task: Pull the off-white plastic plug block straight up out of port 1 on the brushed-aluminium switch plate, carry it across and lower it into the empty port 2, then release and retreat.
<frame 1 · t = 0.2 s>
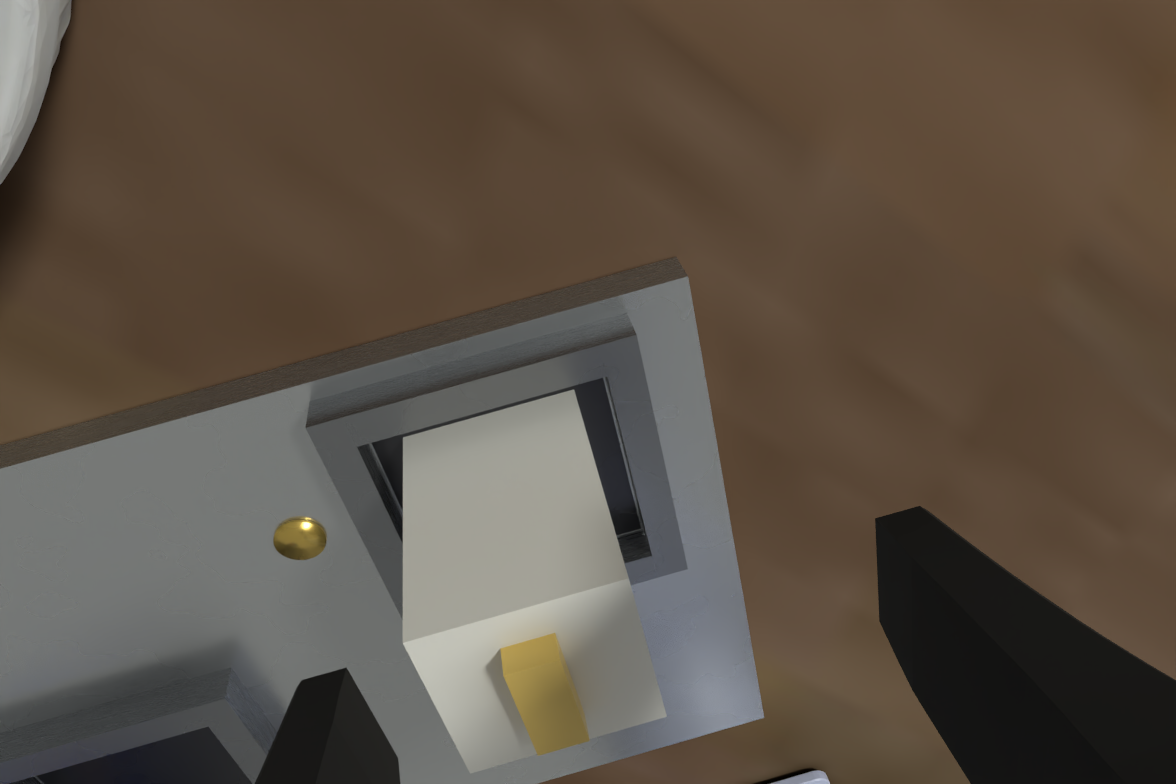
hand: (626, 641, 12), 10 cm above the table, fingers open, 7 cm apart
switch plate: (333, 625, 24), on the table
plug: (511, 479, 21), point 1 cm above the table, touching switch plate
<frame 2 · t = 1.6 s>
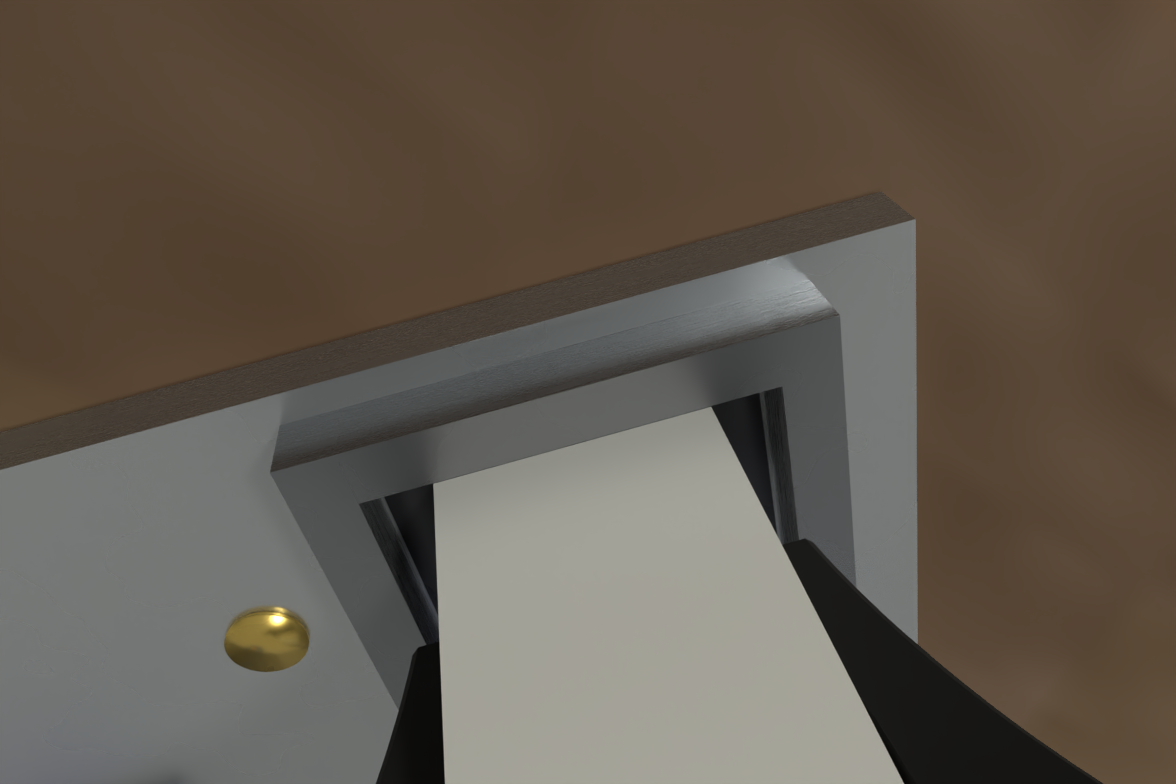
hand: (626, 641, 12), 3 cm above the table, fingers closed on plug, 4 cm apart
switch plate: (321, 750, 17), on the table
plug: (601, 546, 14), point 1 cm above the table, touching gripper, switch plate
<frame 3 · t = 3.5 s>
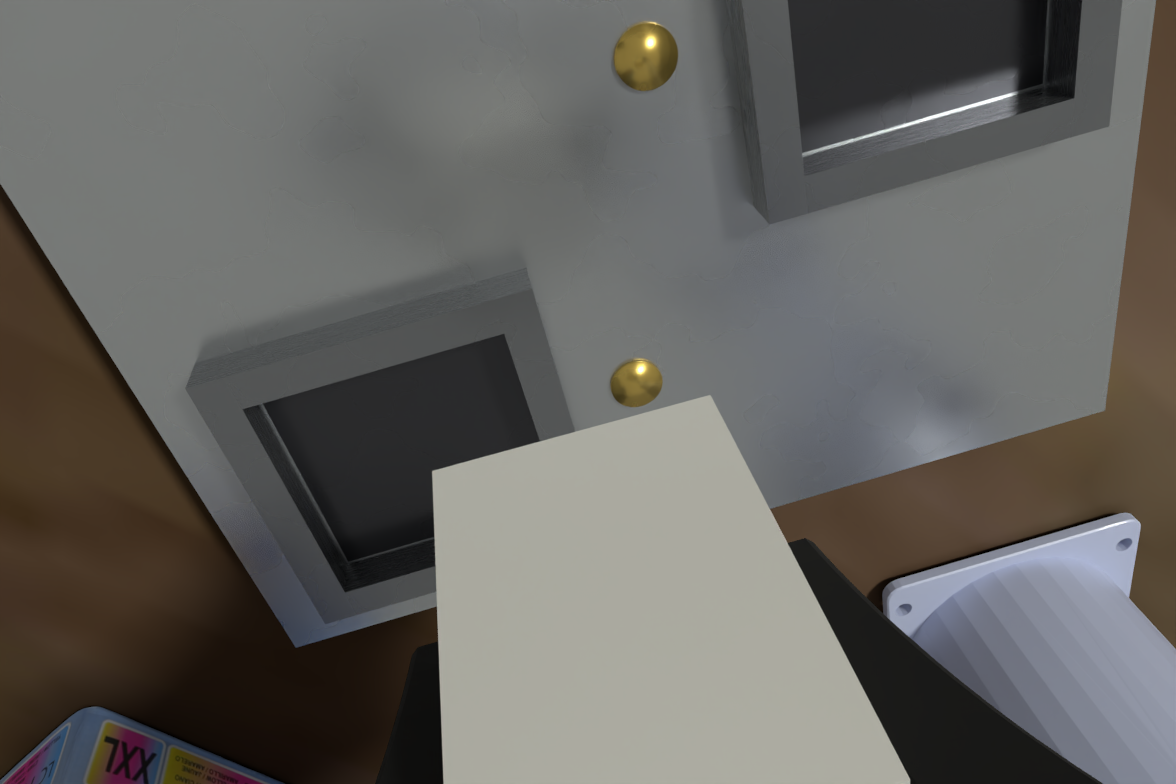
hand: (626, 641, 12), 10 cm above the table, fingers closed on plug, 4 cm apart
switch plate: (634, 239, 20), on the table
plug: (600, 535, 14), point 8 cm above the table, touching gripper
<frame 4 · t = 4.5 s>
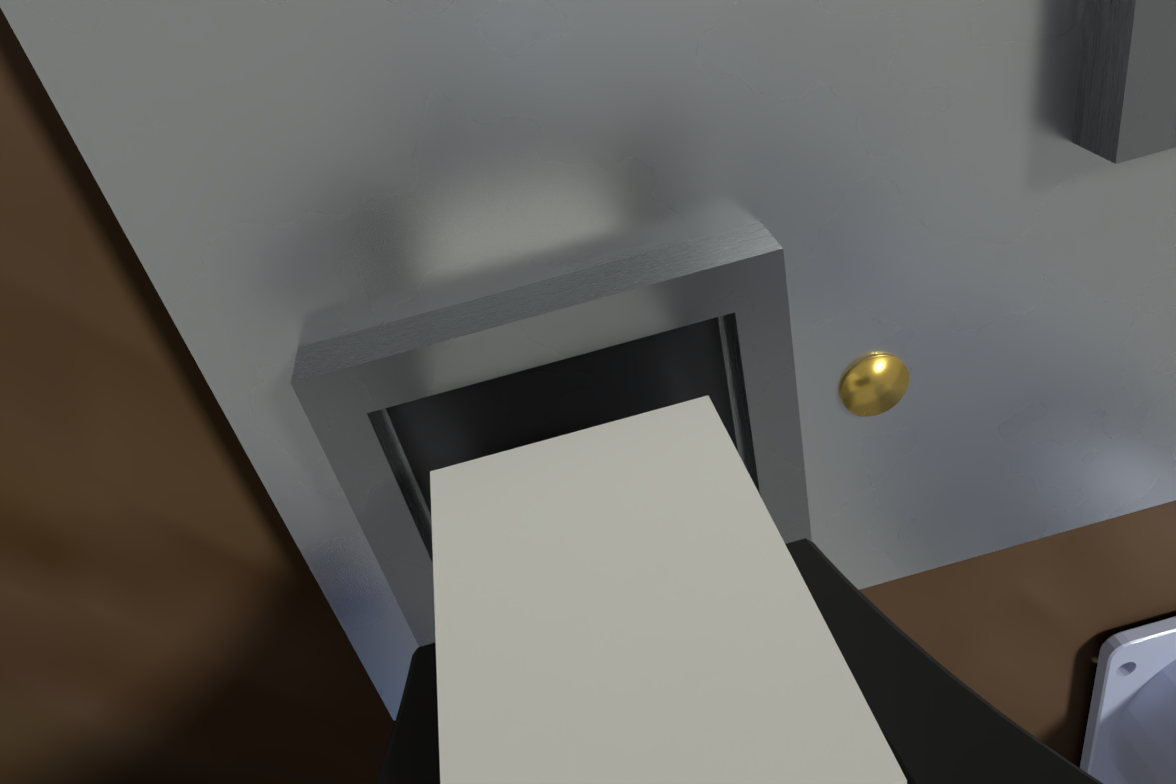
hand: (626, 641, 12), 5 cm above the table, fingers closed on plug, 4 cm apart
switch plate: (888, 189, 15), on the table
plug: (598, 536, 14), point 3 cm above the table, touching gripper
when the fingers open (3 cm above the table, at t = 5.2 s): plug stays where it is, resting on switch plate.
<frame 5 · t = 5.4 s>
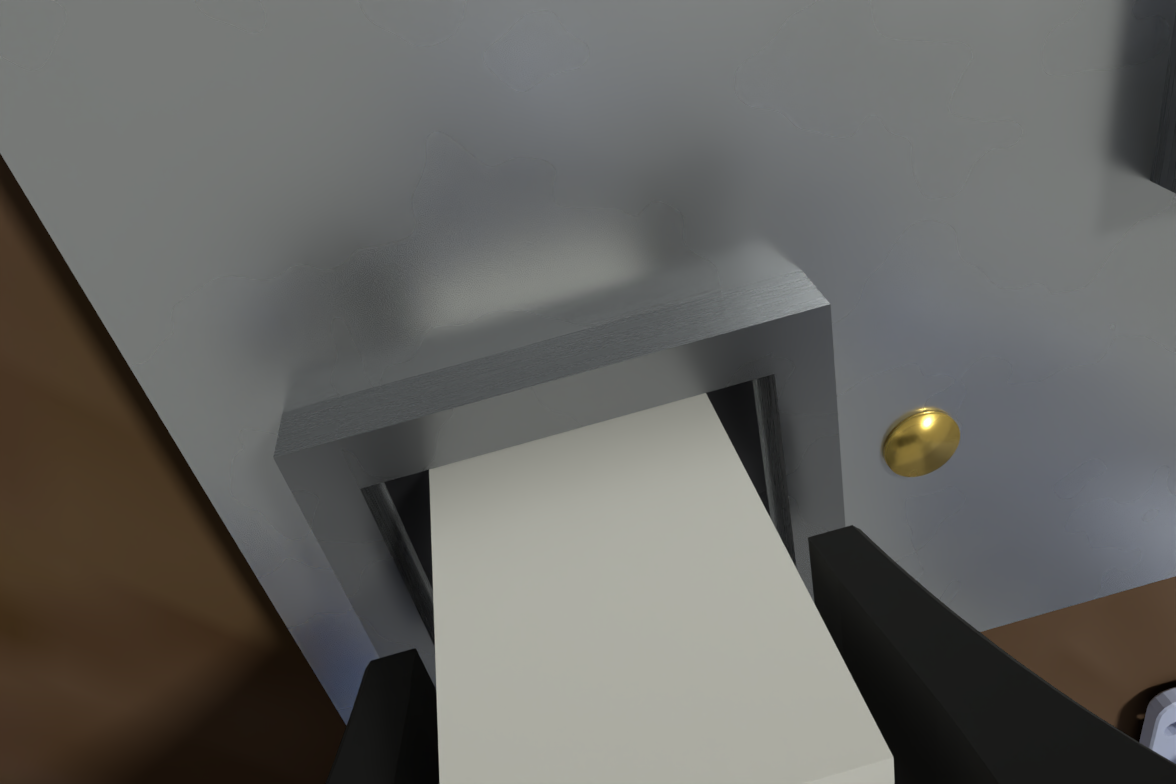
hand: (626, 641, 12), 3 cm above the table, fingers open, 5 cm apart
switch plate: (939, 230, 13), on the table
plug: (595, 526, 14), point 1 cm above the table, touching switch plate
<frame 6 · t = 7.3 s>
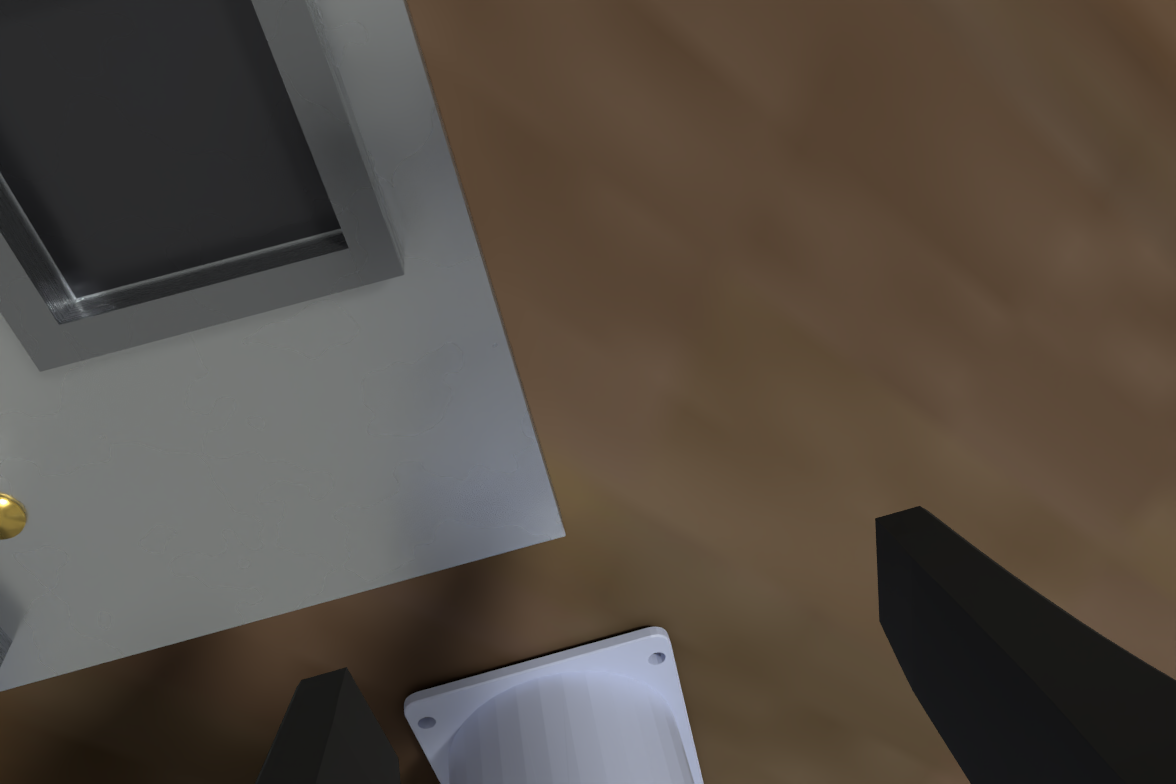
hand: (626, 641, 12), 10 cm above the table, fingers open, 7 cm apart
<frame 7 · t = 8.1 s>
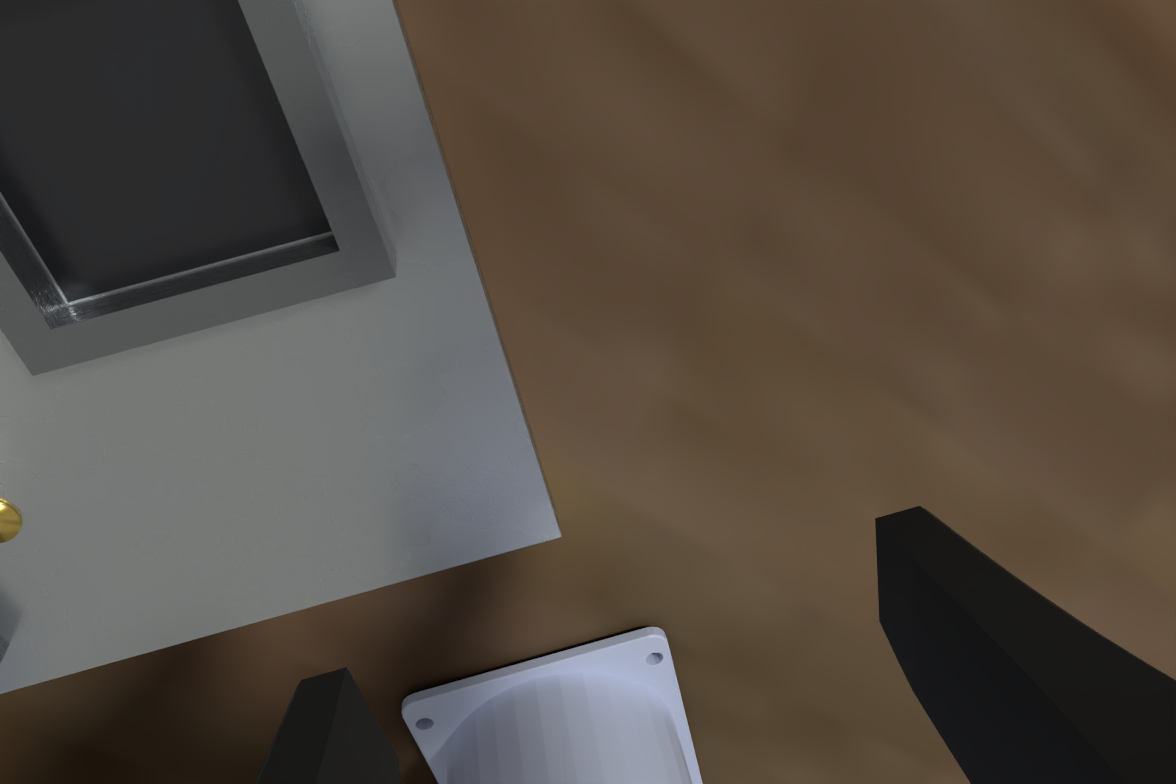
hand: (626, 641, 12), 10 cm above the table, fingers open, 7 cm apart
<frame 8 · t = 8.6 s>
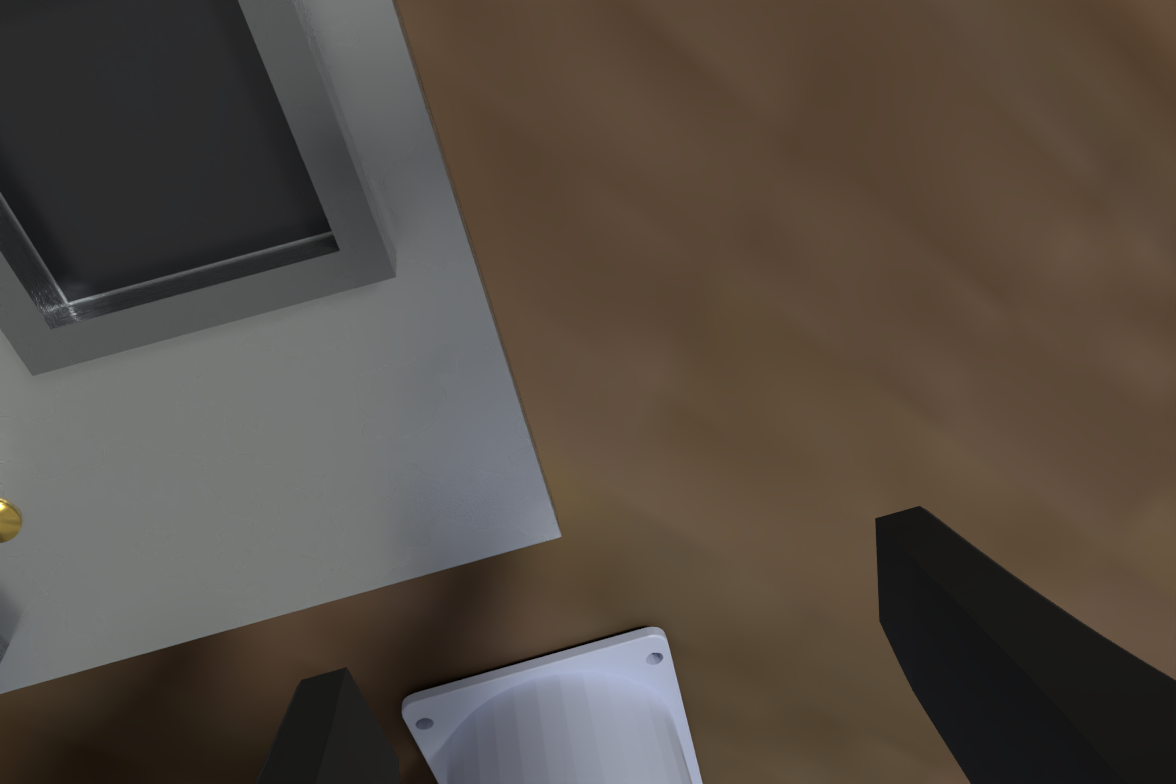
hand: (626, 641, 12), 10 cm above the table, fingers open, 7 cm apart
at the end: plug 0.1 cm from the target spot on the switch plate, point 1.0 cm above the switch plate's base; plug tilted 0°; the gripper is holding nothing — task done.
